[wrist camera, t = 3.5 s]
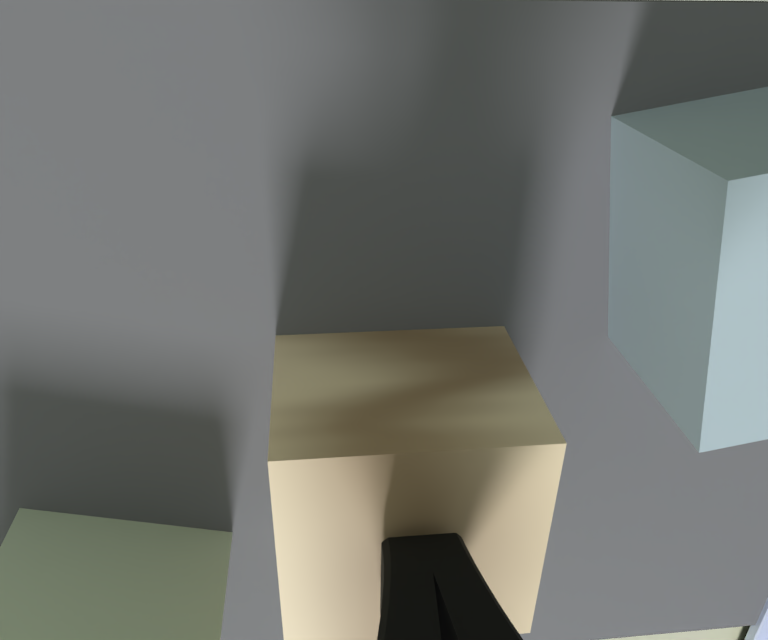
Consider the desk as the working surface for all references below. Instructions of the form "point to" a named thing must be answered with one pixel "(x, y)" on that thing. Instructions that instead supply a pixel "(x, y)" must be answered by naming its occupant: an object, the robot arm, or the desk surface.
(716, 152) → the slate dotted block
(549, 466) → the beech block
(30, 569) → the sage dotted block
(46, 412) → the rubber mat
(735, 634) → the desk surface
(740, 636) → the desk surface
